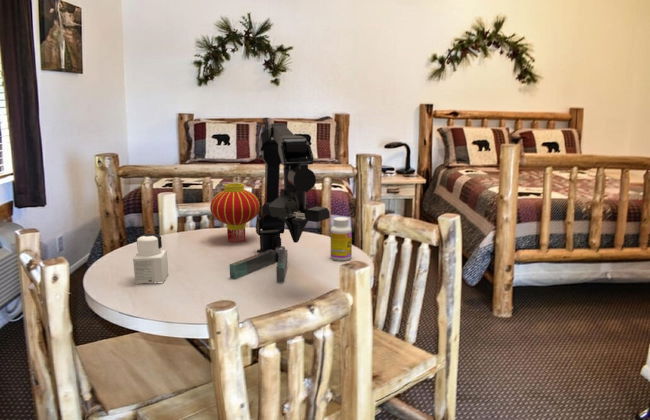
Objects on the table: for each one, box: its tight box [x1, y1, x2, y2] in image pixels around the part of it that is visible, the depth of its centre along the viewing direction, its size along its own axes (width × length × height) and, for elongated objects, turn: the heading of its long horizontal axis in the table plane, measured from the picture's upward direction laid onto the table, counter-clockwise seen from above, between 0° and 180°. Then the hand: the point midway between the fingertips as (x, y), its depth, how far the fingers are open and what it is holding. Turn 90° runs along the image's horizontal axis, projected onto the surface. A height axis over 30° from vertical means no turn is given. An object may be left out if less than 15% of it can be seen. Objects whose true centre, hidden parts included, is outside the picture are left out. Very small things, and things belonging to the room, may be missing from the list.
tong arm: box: [275, 249, 289, 283], centre depth 162 cm, size 2×18×4 cm, turn 1°
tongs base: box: [228, 245, 286, 280], centre depth 165 cm, size 4×22×4 cm, turn 145°
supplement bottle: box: [330, 216, 353, 262], centre depth 174 cm, size 7×7×13 cm
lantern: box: [209, 164, 261, 244], centre depth 195 cm, size 17×17×30 cm
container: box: [132, 233, 169, 283], centre depth 156 cm, size 8×8×13 cm
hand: (295, 242), depth 150 cm, fingers closed
